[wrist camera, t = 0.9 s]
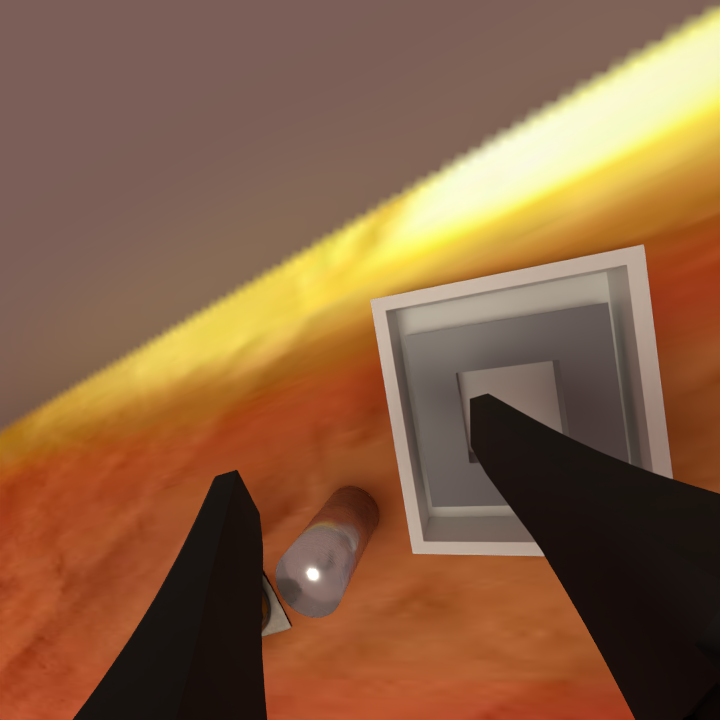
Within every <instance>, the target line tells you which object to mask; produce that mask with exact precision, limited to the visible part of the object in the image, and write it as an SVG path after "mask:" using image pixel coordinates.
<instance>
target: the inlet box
mask: <svg viewBox="0 0 720 720" xmlns="http://www.w3.org/2000/svg"><path fill="white" fill-rule="evenodd" d="M371 306H372V312H373V318H374V324H375V330H376V336H377V342H378V348H379V354H380V360H381V366H382V372H383V378H384V384H385V390H386V396H387V402H388V408H389V414H390V420H391V426H392V432H393V438H394V444H395V450H396V456H397V462H398V468H399V474H400V480H401V486H402V492H403V498H404V504H405V510H406V516H407V522H408V528H409V534H410V540H411V546H412V552H413V554H457V555H513V556H545V555H544V554H543V552H542V551H541V549H540V548H539V546H538V545H537V543H536V542H535V540H534V539H533V537H532V536H531V535H530V533H529V532H528V530H527V529H526V528H525V526H524V525H523V524H522V522H521V521H520V520H519V518H518V517H517V516H516V514H515V513H514V512H513V510H512V509H511V507H510V506H509V505H508V503H507V502H506V501H505V499H504V498H503V497H502V495H501V494H500V493H499V491H498V490H497V488H496V487H495V486H494V484H493V483H492V482H491V480H490V479H489V477H488V476H487V475H486V473H485V471H484V469H483V468H482V466H481V464H480V462H479V461H478V459H477V457H476V455H475V453H474V452H473V450H472V448H471V446H470V399H471V398H474V397H477V396H480V395H484V394H487V393H489V394H490V395H492V396H494V397H496V398H498V399H499V400H501V401H503V402H505V403H507V404H508V405H510V406H512V407H514V408H515V409H517V410H519V411H521V412H522V413H524V414H526V415H528V416H530V417H531V418H533V419H535V420H537V421H539V422H541V423H543V424H544V425H546V426H548V427H550V428H552V429H554V430H556V431H558V432H560V433H562V434H564V435H566V436H568V437H570V438H572V439H574V440H576V441H578V442H580V443H583V444H585V445H587V446H589V447H591V448H593V449H595V450H598V451H600V452H602V453H605V454H607V455H609V456H612V457H614V458H617V459H619V460H622V461H624V462H627V463H629V464H632V465H634V466H637V467H639V468H642V469H645V470H648V471H650V472H653V473H656V474H659V475H662V476H665V477H668V478H671V479H673V476H672V468H671V459H670V451H669V443H668V435H667V427H666V419H665V411H664V403H663V395H662V387H661V379H660V371H659V363H658V355H657V347H656V339H655V331H654V323H653V315H652V307H651V298H650V290H649V282H648V274H647V266H646V258H645V250H644V245H639V246H634V247H629V248H624V249H619V250H614V251H609V252H604V253H599V254H594V255H589V256H584V257H579V258H574V259H570V260H565V261H560V262H555V263H550V264H545V265H540V266H535V267H530V268H525V269H520V270H515V271H510V272H505V273H500V274H495V275H490V276H485V277H481V278H476V279H471V280H466V281H461V282H456V283H451V284H446V285H441V286H436V287H431V288H426V289H421V290H416V291H411V292H406V293H401V294H396V295H392V296H387V297H382V298H377V299H372V300H371Z"/></svg>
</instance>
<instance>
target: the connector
mask: <svg viewBox="0 0 720 720" xmlns="http://www.w3.org/2000/svg"><path fill="white" fill-rule="evenodd" d="M378 519H379V512H378V508H377V505H376V503H375V501H374V500H373V498H372V497H371V496H370V495H369V494H368V493H367V492H365V491H364V490H362V489H360V488H357V487H350V486H348V487H343V488H340V489H338V490H337V491H336V492H335V493H334V494H333V495H332V496H331V497H330V498H329V500H328V501H327V502H326V503H325V505H324V506H323V507H322V508H321V510H320V511H319V512H318V513H317V514H316V516H315V517H314V518H313V519H312V521H311V522H310V523H309V524H308V525H307V527H306V528H305V529H304V530H303V532H302V533H301V534H300V535H299V537H298V538H297V539H296V540H295V541H294V543H293V544H292V545H291V546H290V548H289V549H288V550H287V551H286V552H285V554H284V555H283V556H282V557H281V559H280V560H279V562H278V564H277V568H276V583H277V587H278V589H279V592H280V594H281V595H282V597H283V599H284V600H285V601H286V603H287V604H288V605H289V606H290V607H292V608H293V609H294V610H296V611H297V612H299V613H301V614H303V615H305V616H309V617H324V616H327V615H329V614H331V613H332V612H333V611H334V610H335V609H336V608H337V607H338V605H339V603H340V601H341V599H342V597H343V595H344V593H345V591H346V588H347V586H348V584H349V582H350V580H351V578H352V576H353V574H354V572H355V570H356V568H357V566H358V563H359V561H360V559H361V557H362V555H363V553H364V551H365V549H366V547H367V545H368V543H369V541H370V538H371V536H372V534H373V532H374V530H375V528H376V526H377V524H378Z"/></svg>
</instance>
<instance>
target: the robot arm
mask: <svg viewBox="0 0 720 720" xmlns="http://www.w3.org/2000/svg"><path fill="white" fill-rule="evenodd" d="M470 446H471V448H472V450H473V452H474V453H475V455H476V457H477V459H478V461H479V462H480V464H481V466H482V468H483V469H484V471H485V473H486V475H487V476H488V477H489V479H490V480H491V482H492V483H493V484H494V486H495V487H496V488H497V490H498V491H499V493H500V494H501V495H502V497H503V498H504V499H505V501H506V502H507V503H508V505H509V506H510V507H511V509H512V510H513V512H514V513H515V514H516V516H517V517H518V518H519V520H520V521H521V522H522V524H523V525H524V526H525V528H526V529H527V530H528V532H529V533H530V535H531V536H532V537H533V539H534V540H535V542H536V543H537V545H538V546H539V548H540V549H541V551H542V552H543V554H544V555H545V557H546V559H547V560H548V562H549V564H550V565H551V567H552V569H553V570H554V572H555V574H556V575H557V577H558V579H559V580H560V582H561V584H562V585H563V587H564V589H565V590H566V592H567V594H568V596H569V597H570V599H571V601H572V603H573V604H574V606H575V608H576V609H577V611H578V613H579V615H580V616H581V618H582V620H583V622H584V624H585V625H586V627H587V629H588V631H589V633H590V634H591V636H592V638H593V640H594V642H595V644H596V645H597V647H598V649H599V651H600V653H601V654H602V656H603V658H604V660H605V662H606V664H607V666H608V668H609V669H610V671H611V673H612V675H613V677H614V679H615V681H616V683H617V685H618V687H619V689H620V691H621V692H622V694H623V696H624V698H625V700H626V702H627V704H628V706H629V708H630V710H631V712H632V714H633V716H634V718H635V720H720V494H719V493H715V492H712V491H708V490H705V489H702V488H699V487H695V486H692V485H689V484H686V483H683V482H680V481H677V480H674V479H671V478H668V477H665V476H662V475H659V474H656V473H653V472H650V471H648V470H645V469H642V468H639V467H637V466H634V465H632V464H629V463H627V462H624V461H622V460H619V459H617V458H614V457H612V456H609V455H607V454H605V453H602V452H600V451H598V450H595V449H593V448H591V447H589V446H587V445H585V444H583V443H580V442H578V441H576V440H574V439H572V438H570V437H568V436H566V435H564V434H562V433H560V432H558V431H556V430H554V429H552V428H550V427H548V426H546V425H544V424H543V423H541V422H539V421H537V420H535V419H533V418H531V417H530V416H528V415H526V414H524V413H522V412H521V411H519V410H517V409H515V408H514V407H512V406H510V405H508V404H507V403H505V402H503V401H501V400H499V399H498V398H496V397H494V396H492V395H490V394H489V393H487V394H484V395H480V396H477V397H474V398H471V399H470ZM262 590H263V542H262V531H261V522H260V514H259V512H258V510H257V508H256V506H255V504H254V502H253V500H252V498H251V496H250V494H249V492H248V490H247V488H246V486H245V484H244V482H243V480H242V478H241V476H240V475H239V473H238V471H237V470H235V471H232V472H228V473H225V474H222V475H218V476H216V477H215V478H214V480H213V482H212V484H211V487H210V489H209V491H208V493H207V496H206V498H205V500H204V502H203V505H202V507H201V509H200V511H199V513H198V516H197V518H196V520H195V522H194V524H193V526H192V528H191V530H190V532H189V534H188V536H187V539H186V541H185V543H184V545H183V547H182V549H181V551H180V553H179V555H178V557H177V559H176V560H175V562H174V564H173V566H172V568H171V570H170V571H169V573H168V575H167V577H166V579H165V581H164V582H163V584H162V586H161V588H160V590H159V592H158V593H157V595H156V597H155V598H154V600H153V602H152V604H151V605H150V607H149V609H148V610H147V612H146V614H145V615H144V617H143V618H142V620H141V622H140V623H139V625H138V626H137V628H136V630H135V631H134V633H133V634H132V636H131V638H130V639H129V641H128V642H127V644H126V645H125V647H124V648H123V650H122V651H121V652H120V654H119V655H118V657H117V658H116V660H115V661H114V663H113V664H112V666H111V667H110V669H109V670H108V672H107V673H106V675H105V676H104V678H103V679H102V680H101V682H100V683H99V685H98V686H97V687H96V689H95V690H94V692H93V693H92V694H91V696H90V697H89V699H88V700H87V701H86V703H85V704H84V705H83V706H82V708H81V709H80V710H79V712H78V713H77V714H76V716H75V717H74V718H73V720H267V713H266V701H265V688H264V674H263V660H262Z"/></svg>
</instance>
